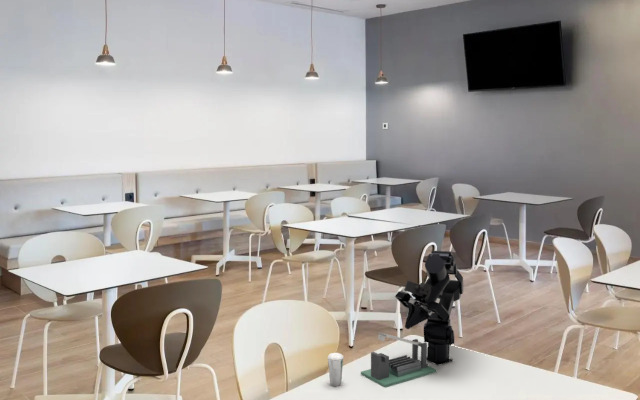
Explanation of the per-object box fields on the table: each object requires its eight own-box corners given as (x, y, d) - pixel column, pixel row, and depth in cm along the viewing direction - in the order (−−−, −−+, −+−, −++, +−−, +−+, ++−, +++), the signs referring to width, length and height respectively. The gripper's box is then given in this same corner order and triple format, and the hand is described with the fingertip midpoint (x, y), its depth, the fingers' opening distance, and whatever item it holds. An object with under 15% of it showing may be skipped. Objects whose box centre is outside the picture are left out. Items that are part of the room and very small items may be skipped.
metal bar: (416, 348, 190) (418, 341, 190) (421, 351, 188) (424, 343, 188) (377, 338, 181) (379, 331, 181) (382, 341, 179) (384, 333, 179)
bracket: (416, 361, 192) (416, 338, 191) (428, 367, 188) (428, 343, 187) (410, 363, 191) (410, 340, 190) (422, 368, 186) (422, 344, 186)
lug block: (381, 373, 183) (381, 349, 183) (388, 377, 180) (389, 353, 180) (370, 375, 181) (370, 352, 180) (378, 380, 178) (378, 356, 177)
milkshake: (344, 388, 175) (344, 354, 174) (326, 386, 176) (326, 353, 175) (347, 381, 179) (347, 348, 178) (329, 380, 180) (329, 347, 179)
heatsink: (405, 363, 191) (405, 354, 190) (421, 370, 185) (421, 361, 185) (382, 369, 186) (382, 360, 186) (397, 377, 180) (398, 368, 180)
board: (411, 360, 195) (411, 357, 195) (436, 372, 186) (436, 369, 186) (360, 374, 185) (360, 371, 184) (384, 387, 175) (384, 384, 175)
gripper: (399, 265, 194) (372, 305, 189) (442, 277, 178) (412, 320, 173) (418, 286, 199) (391, 325, 194) (461, 299, 183) (433, 342, 178)
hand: (406, 328), depth 185 cm, fingers closed
